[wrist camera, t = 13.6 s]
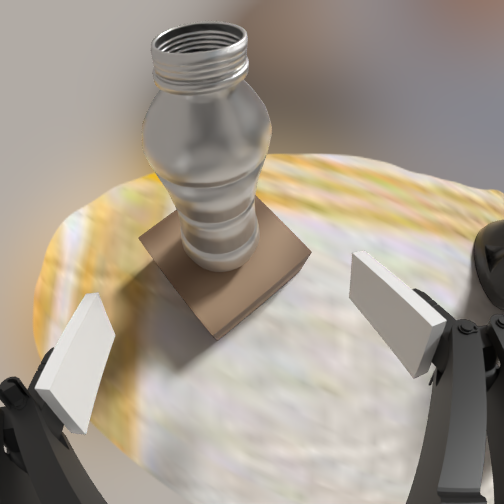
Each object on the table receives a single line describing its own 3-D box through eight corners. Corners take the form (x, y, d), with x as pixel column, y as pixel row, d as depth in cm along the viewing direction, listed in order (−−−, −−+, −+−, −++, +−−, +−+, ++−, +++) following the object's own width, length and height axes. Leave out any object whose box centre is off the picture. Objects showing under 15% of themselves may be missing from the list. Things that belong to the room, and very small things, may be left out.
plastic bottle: (261, 275, 26) (308, 73, 7) (186, 281, 25) (90, 94, 7) (254, 213, 28) (274, 11, 10) (185, 218, 28) (132, 23, 9)
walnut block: (299, 271, 32) (311, 252, 27) (217, 340, 29) (212, 335, 24) (232, 201, 36) (231, 172, 30) (154, 259, 32) (138, 237, 27)
